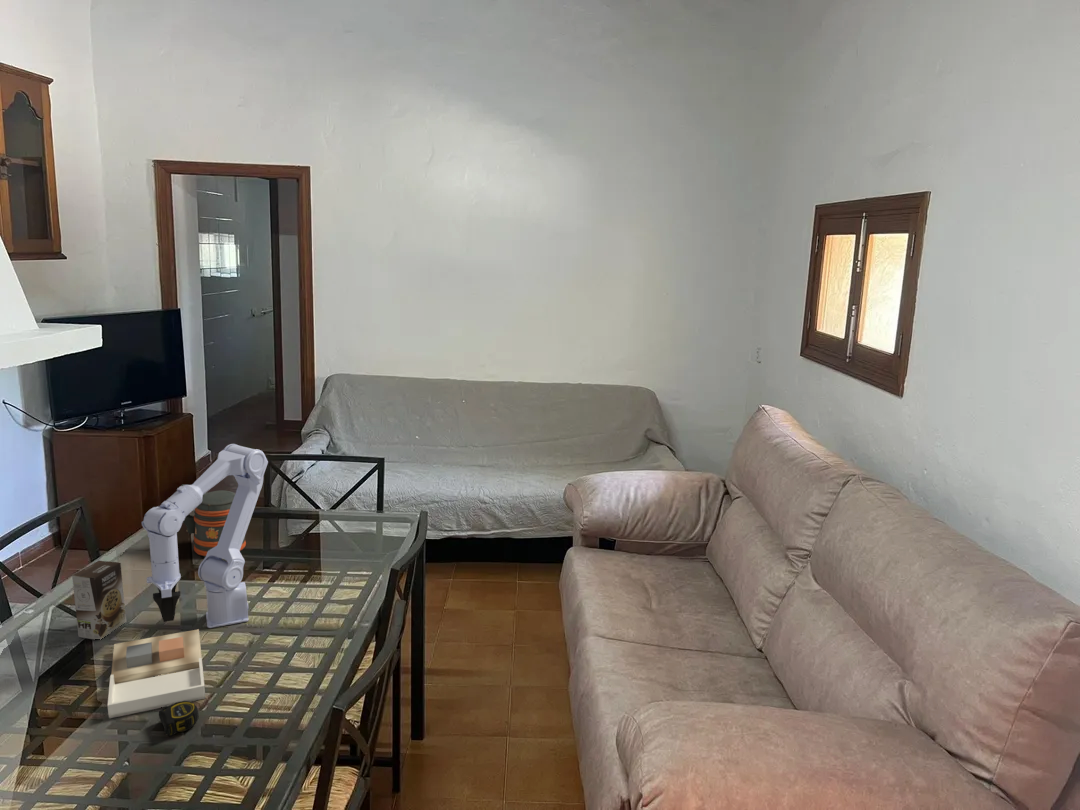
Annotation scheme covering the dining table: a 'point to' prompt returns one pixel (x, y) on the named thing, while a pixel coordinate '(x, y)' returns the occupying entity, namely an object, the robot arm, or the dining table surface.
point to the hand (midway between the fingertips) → (168, 613)
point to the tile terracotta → (171, 649)
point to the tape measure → (178, 717)
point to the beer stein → (210, 520)
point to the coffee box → (99, 599)
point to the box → (155, 692)
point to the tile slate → (139, 655)
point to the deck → (156, 658)
